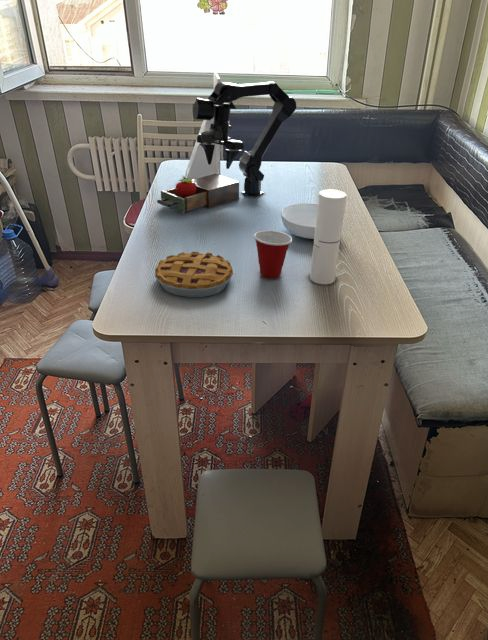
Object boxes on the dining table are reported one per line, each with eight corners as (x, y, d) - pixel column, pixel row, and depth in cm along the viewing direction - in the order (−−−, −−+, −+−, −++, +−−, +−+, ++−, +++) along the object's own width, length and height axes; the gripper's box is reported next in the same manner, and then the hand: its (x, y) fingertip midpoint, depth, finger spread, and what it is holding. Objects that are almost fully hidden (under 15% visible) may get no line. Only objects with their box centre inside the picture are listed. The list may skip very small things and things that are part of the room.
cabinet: (208, 208, 196) (208, 190, 192) (185, 199, 203) (184, 181, 199) (238, 198, 206) (239, 181, 202) (215, 190, 213) (215, 173, 209)
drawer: (173, 216, 186) (173, 202, 183) (152, 207, 192) (151, 193, 189) (214, 203, 198) (214, 190, 195) (192, 195, 204) (192, 182, 201)
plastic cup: (297, 275, 154) (300, 236, 148) (272, 286, 148) (274, 247, 141) (269, 262, 160) (271, 225, 153) (244, 273, 154) (245, 234, 147)
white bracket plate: (183, 172, 230) (179, 69, 207) (216, 172, 232) (216, 70, 209) (185, 187, 214) (180, 77, 191) (220, 187, 216) (220, 78, 193)
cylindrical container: (327, 286, 149) (339, 200, 135) (305, 279, 152) (314, 194, 138) (338, 277, 154) (350, 193, 140) (317, 270, 157) (326, 187, 143)
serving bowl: (267, 232, 180) (268, 212, 176) (305, 217, 193) (307, 199, 189) (315, 251, 168) (317, 231, 164) (352, 234, 181) (355, 215, 177)
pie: (163, 262, 157) (162, 246, 155) (236, 266, 157) (236, 250, 155) (147, 298, 140) (146, 281, 137) (230, 302, 140) (230, 285, 137)
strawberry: (176, 199, 197) (175, 172, 191) (197, 199, 198) (196, 172, 192) (175, 204, 192) (174, 177, 187) (196, 205, 193) (195, 177, 187)
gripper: (187, 117, 189) (185, 163, 196) (226, 124, 180) (222, 172, 187) (208, 118, 197) (205, 162, 204) (246, 125, 188) (242, 170, 195)
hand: (218, 166), depth 197 cm, fingers open, 9 cm apart
